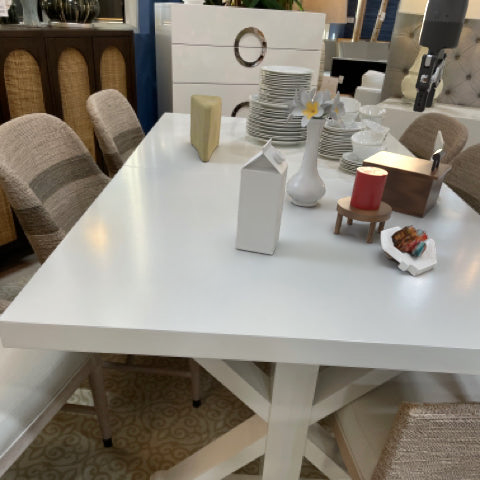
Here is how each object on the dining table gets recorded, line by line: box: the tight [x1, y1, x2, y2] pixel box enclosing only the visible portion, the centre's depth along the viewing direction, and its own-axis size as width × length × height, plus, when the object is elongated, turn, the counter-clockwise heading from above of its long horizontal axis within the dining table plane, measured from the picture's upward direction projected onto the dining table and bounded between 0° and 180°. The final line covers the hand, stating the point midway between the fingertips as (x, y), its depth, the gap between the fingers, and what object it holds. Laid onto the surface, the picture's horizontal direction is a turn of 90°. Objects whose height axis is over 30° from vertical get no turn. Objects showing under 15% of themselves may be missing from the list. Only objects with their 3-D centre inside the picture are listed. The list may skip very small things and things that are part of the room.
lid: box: [361, 148, 453, 181], centre depth 112 cm, size 18×14×5 cm
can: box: [350, 166, 388, 210], centre depth 94 cm, size 6×6×7 cm
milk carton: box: [235, 138, 289, 256], centre depth 85 cm, size 7×7×19 cm
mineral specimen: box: [380, 224, 438, 277], centre depth 88 cm, size 12×12×7 cm
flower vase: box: [284, 86, 346, 208], centre depth 107 cm, size 13×18×25 cm
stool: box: [333, 195, 393, 245], centre depth 98 cm, size 11×11×6 cm
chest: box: [361, 164, 446, 219], centre depth 116 cm, size 17×14×9 cm
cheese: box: [189, 94, 223, 163], centre depth 141 cm, size 22×10×15 cm, turn 4°
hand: (422, 109), depth 101 cm, fingers open, 8 cm apart
